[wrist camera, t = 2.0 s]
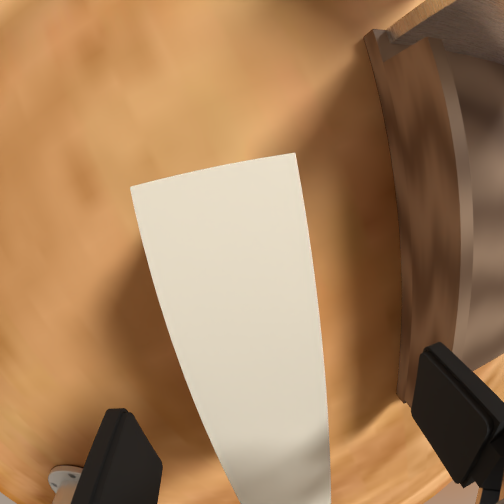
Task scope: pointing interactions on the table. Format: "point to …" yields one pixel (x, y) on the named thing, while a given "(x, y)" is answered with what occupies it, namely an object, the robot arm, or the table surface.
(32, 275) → the table surface
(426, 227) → the walnut shelf
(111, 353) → the table surface
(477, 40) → the bookend
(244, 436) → the cream book
